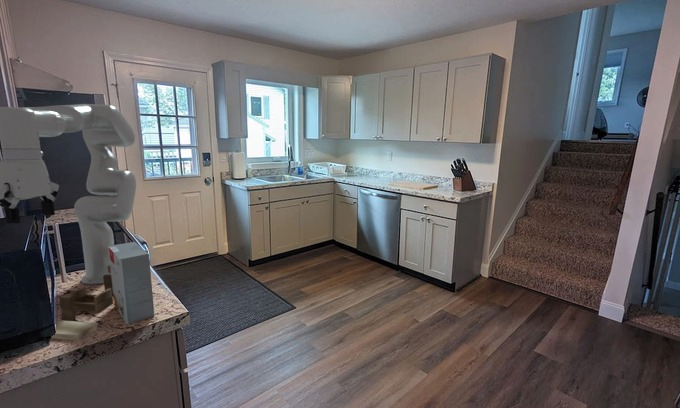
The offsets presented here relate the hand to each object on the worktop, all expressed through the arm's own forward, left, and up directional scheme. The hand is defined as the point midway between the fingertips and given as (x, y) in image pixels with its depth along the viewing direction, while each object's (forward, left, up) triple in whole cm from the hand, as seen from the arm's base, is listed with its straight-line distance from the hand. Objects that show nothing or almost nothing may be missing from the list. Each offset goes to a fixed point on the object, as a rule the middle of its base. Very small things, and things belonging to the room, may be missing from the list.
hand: (32, 218), depth 91 cm
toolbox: (-9, +6, -30) cm, 32 cm away
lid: (+5, +12, -31) cm, 33 cm away
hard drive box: (-8, +21, -30) cm, 38 cm away
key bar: (-27, +6, -23) cm, 36 cm away
